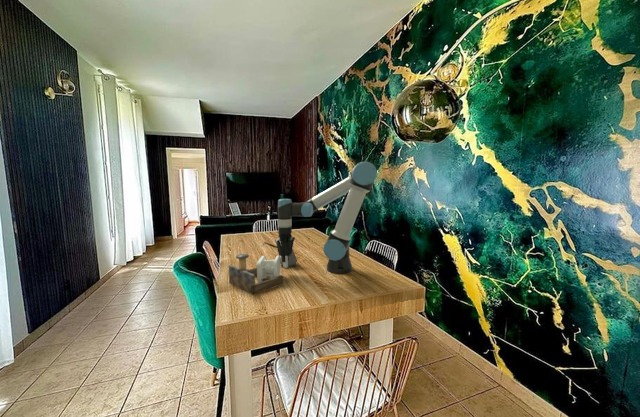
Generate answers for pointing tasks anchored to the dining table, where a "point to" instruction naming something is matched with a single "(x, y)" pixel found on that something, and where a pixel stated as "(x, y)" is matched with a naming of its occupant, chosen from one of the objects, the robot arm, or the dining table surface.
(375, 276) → the dining table surface
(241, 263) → the mushroom drawer knob
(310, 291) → the dining table surface
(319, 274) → the dining table surface
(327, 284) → the dining table surface
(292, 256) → the coffee pot
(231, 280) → the notched bay
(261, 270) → the cable organizer
